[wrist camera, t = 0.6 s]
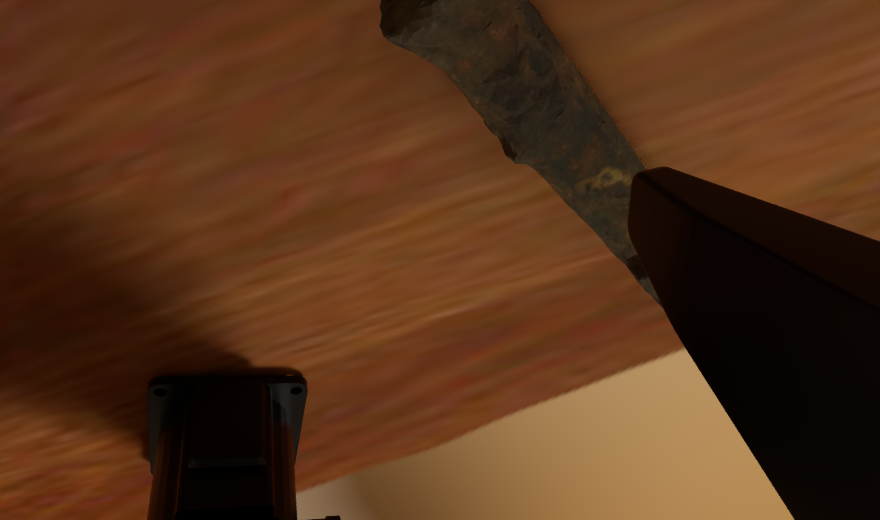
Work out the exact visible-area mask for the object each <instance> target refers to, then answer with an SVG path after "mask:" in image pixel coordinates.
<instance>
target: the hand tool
mask: <svg viewBox="0 0 880 520" xmlns="http://www.w3.org/2000/svg"><path fill="white" fill-rule="evenodd" d="M380 10H381V13H382V17H381V23H380V28H381V31H382V33H383V36H384V37H386V38H387V40H388V41H389V42H391V43H393V44H395V45H397V46H399V47H402V48H404V49H407V50H409V51H412V52H414V53H415V54H417V55H418V56H419V57H421V58H425V59H428V60H429V61H430V62H431V63H433V64H435V65H436V66H438V67H440V68H442V69H443V70H444V71H445V72H446V73H447V74H448V76H449V77H450V78H451V80H452V81H453V82H454V84H455V85H456V86H458V87H459V88H460V89H461V91H462V92H463V93H464V95H465V96H466V98H467V99H468V101H469V102H470V104H471V106H472V107H473V108H474V109H475V110H476V111H477V112H478V113H479V115H480V116H481V117H482V118H483V119H484V122H485V125H486V126H487V127H488V128H489V130H490V131H491V132H492V134H494V135H496V136H497V137H498V138H499V140H500V142H501V144H502V147H503V150H504V152H505V155H506V156H507V157H508V158H510V159H511V160H512V161H513V162H514V163H516V164H527V165H529V166H530V167H532V168H533V169H535V170H536V171H537V172H538V173H539V174H540V175H541V176H542V177H543V178H544V179H545V180H546V181H547V182H548V183H549V184H550V185H551V186H552V188H553V189H554V190H555V191H556V192H557V193H558V194H559V196H560V197H561V198H562V199H563V200H564V201H565V202H566V203H567V205H568V206H569V207H571V208H572V209H573V210H574V211H575V212H576V213H577V214H578V215H579V216H580V217H581V218H582V219H583V220H584V221H585V222H586V223H587V224H588V225H589V226H590V227H591V228H592V229H593V230H594V231H595V232H596V233H597V235H598V236H599V237H600V238H601V239H602V240H603V241H604V243H605V244H606V246H607V247H608V248H609V249H610V250H611V251H612V253H613V254H614V255H615V256H616V257H617V258H619V259H620V260H621V261H622V262H623V263H624V264H625V265H626V266H627V267H628V269H629V270H630V271H631V273H632V274H633V276H634V277H635V278H636V280H637V281H638V283H639V284H640V285H641V286H642V287H643V288H644V289H645V291H646V292H648V293H649V294H650V295H651V296H652V297H653V298H654V299H655V300H656V301H657V302H658V304H659V305H660V306H661V307H662V305H661V302H660V300H659V298H658V296H657V294H656V292H655V290H654V288H653V286H652V284H651V282H650V279H649V277H648V275H647V273H646V271H645V269H644V267H643V265H642V263H641V261H640V259H639V257H638V254H637V252H636V250H635V248H634V246H633V244H632V242H631V240H630V237H629V233H628V226H627V221H628V211H629V201H630V192H631V183H632V179H633V177H634V176H635V175H636V174H637V173H638V172H640V171H645V170H646V169H645V168H644V167H643V165H642V164H641V162H640V161H639V160H638V158H637V156H636V154H635V152H634V151H633V149H632V148H631V146H630V145H629V143H628V142H627V140H626V139H625V138H624V136H623V135H622V134H621V132H620V131H619V130H618V128H617V126H616V125H615V123H614V122H613V120H612V118H611V117H610V115H609V114H608V113H607V111H606V110H605V109H604V108H603V106H602V105H601V104H600V103H599V101H598V100H597V98H596V96H595V95H594V93H593V92H592V90H591V89H590V87H589V86H588V84H587V83H586V81H585V80H584V78H583V77H582V75H581V74H580V72H579V71H578V69H577V67H576V66H575V64H574V63H573V62H572V61H571V60H570V58H569V57H568V56H567V54H566V53H565V52H564V50H563V49H562V47H561V46H560V44H559V42H558V41H557V39H556V38H555V36H554V35H553V33H552V32H551V30H550V29H549V27H548V26H547V24H546V23H545V21H544V20H543V18H542V16H541V15H540V13H539V12H538V10H537V9H536V8H535V7H534V6H533V5H532V4H531V3H530V2H529V0H381V4H380ZM662 308H663V307H662Z"/></svg>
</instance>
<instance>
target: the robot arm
mask: <svg viewBox="0 0 880 520" xmlns="http://www.w3.org/2000/svg"><path fill="white" fill-rule="evenodd" d="M627 226H628V233H629V237H630V240H631V242H632V244H633V246H634V248H635V250H636V252H637V254H638V257H639V259H640V261H641V263H642V265H643V267H644V269H645V271H646V273H647V275H648V277H649V279H650V282H651V284H652V286H653V288H654V290H655V292H656V294H657V296H658V298H659V300H660V302H661V305H662V307H663V309H664V311H665V313H666V315H667V317H668V319H669V321H670V323H671V325H672V326H673V328H674V330H675V332H676V333H677V335H678V337H679V338H680V340H681V342H682V343H683V345H684V347H685V348H686V350H687V351H688V353H689V354H690V356H691V357H692V359H693V361H694V362H695V364H696V365H697V367H698V369H699V370H700V372H701V373H702V375H703V376H704V378H705V380H706V381H707V383H708V384H709V386H710V387H711V389H712V391H713V392H714V394H715V395H716V397H717V398H718V400H719V402H720V403H721V405H722V406H723V408H724V409H725V411H726V412H727V414H728V416H729V417H730V419H731V421H732V422H733V424H734V425H735V427H736V428H737V430H738V432H739V433H740V435H741V436H742V438H743V439H744V441H745V442H746V444H747V446H748V447H749V449H750V450H751V452H752V453H753V455H754V457H755V458H756V460H757V461H758V463H759V464H760V466H761V468H762V469H763V471H764V472H765V474H766V476H767V477H768V479H769V480H770V482H771V483H772V485H773V487H774V488H775V490H776V491H777V493H778V494H779V496H780V498H781V499H782V501H783V502H784V504H785V505H786V507H787V509H788V510H789V512H790V513H791V515H792V516H793V518H794V520H880V241H877V240H875V239H872V238H869V237H866V236H863V235H860V234H857V233H855V232H852V231H849V230H846V229H843V228H840V227H837V226H834V225H832V224H829V223H826V222H823V221H820V220H817V219H814V218H812V217H809V216H806V215H803V214H800V213H797V212H794V211H792V210H789V209H786V208H783V207H780V206H777V205H774V204H772V203H769V202H766V201H763V200H760V199H757V198H754V197H752V196H749V195H746V194H743V193H740V192H737V191H734V190H732V189H729V188H726V187H723V186H720V185H717V184H714V183H712V182H709V181H706V180H703V179H700V178H697V177H694V176H692V175H689V174H686V173H683V172H680V171H677V170H674V169H672V168H669V167H658V168H654V169H649V170H645V171H640V172H638V173H637V174H636V175H635V176H634V177H633V179H632V183H631V192H630V201H629V211H628V221H627ZM294 387H296V388H294ZM159 388H161V389H159ZM307 391H308V390H307V381H306V379H305V378H303V377H299V376H240V377H157V378H154V379H152V380H151V381H150V382H149V384H148V390H147V403H148V424H149V446H150V467H151V473H152V475H153V481H152V488H151V495H150V503H149V510H148V517H147V520H297V509H296V508H297V507H296V487H295V468H294V465H295V461H296V455H297V449H298V443H299V438H300V432H301V426H302V420H303V414H304V408H305V403H306V397H307ZM312 520H340V516H326V517H325V519H312Z"/></svg>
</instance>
